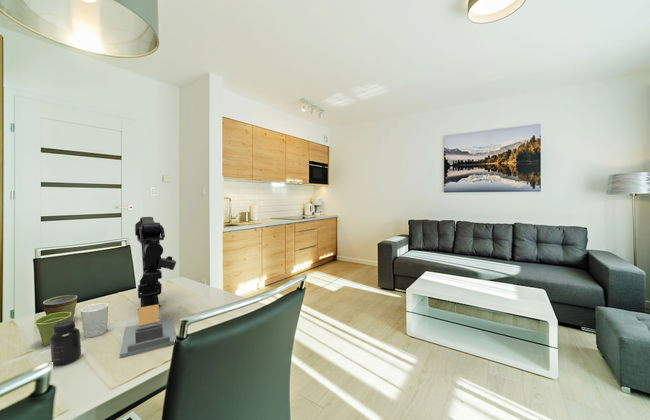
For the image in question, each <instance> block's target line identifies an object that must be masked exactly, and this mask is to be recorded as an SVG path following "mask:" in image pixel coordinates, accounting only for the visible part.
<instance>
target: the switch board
mask: <svg viewBox="0 0 650 420" xmlns="http://www.w3.org/2000/svg"><path fill="white" fill-rule="evenodd" d="M159 322H161V325H160V326H155V327H151V328H146V329H141V330H137V327H138V326H139V324H134V325H130V326H125V327H124V333H123V336H122V340H121V341H122V343H121V348H120V353H119V358H120V359H121V358H122V359H123V358H126V357H129V356H134V355H137V354H142V353H145V352H149V351H153V350H154V351H155V350H157V349H162V348H165V347H169V346H173V344H174V340H175V338H176V339H177V335H176V330H175V325H174V320H173V317H168V318H164V319H159ZM155 323H157V322H155ZM150 324H153V323H150ZM145 325H148V324H145ZM141 326H143V325H141ZM174 345H175V344H174Z"/></svg>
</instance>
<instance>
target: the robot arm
mask: <svg viewBox="0 0 650 420" xmlns="http://www.w3.org/2000/svg"><path fill="white" fill-rule="evenodd" d="M134 226H135V227H134V234H135V237H136V239H137V241H138V242H139V243H140V245H141V258H142V276H141V278H140V280H139V284H137V297H138V299H140V307H146V306H152V305H157V304H159V300H160V299H159V295H161V294H162V283H161V281H159V280H161V279H163V276H162V274H163V273H162V272H163V271H162V268H163V269H167V270H170V271H174V269H175V267H176V264H177V261H176V260H175V259H173V256H170V255H168V256H167V257H164V258H163V257H162V255H163V253H164V248H163V246H162V244H161V243H160V241H164V240H165V237H166V235H165V234H166V233H165V227H164V226H163V225H162V224H161V223H160V222H155V220H154V217H152V216H142V217H140V218H139V221H137V222H136V223H135V225H134ZM159 307H161V304H159ZM137 311H139V308H138V309H137Z"/></svg>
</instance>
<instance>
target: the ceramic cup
mask: <svg viewBox="0 0 650 420" xmlns="http://www.w3.org/2000/svg"><path fill="white" fill-rule="evenodd" d="M77 303H78V295H76V294H75V295H74V294H68V295H67V294H66V295H59V296H56V297H55V296H54V297H51V298H49V299H46V300H44V301H43V302H42V306H43V311H44V313H45V316H46V315H49V314H53V313H59V312H70V313H71V316H70V319H69V320H74V317H75V313H76V307H77Z"/></svg>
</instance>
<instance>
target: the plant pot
mask: <svg viewBox="0 0 650 420" xmlns="http://www.w3.org/2000/svg"><path fill="white" fill-rule="evenodd" d="M70 316H71V313H70V312H59V313H53V314H49V315H46V314H45V315H43V316H41V317H38V318H37V319H35V320H34V322H33V323H34V325H36V328H38V333H39V335H40V339H41V344H42V345H44V346H48V345H50V338H51V336H52V335H53V334H54V325H56V324H57V323H60V322H63V321H68V320H69V319H70Z"/></svg>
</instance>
